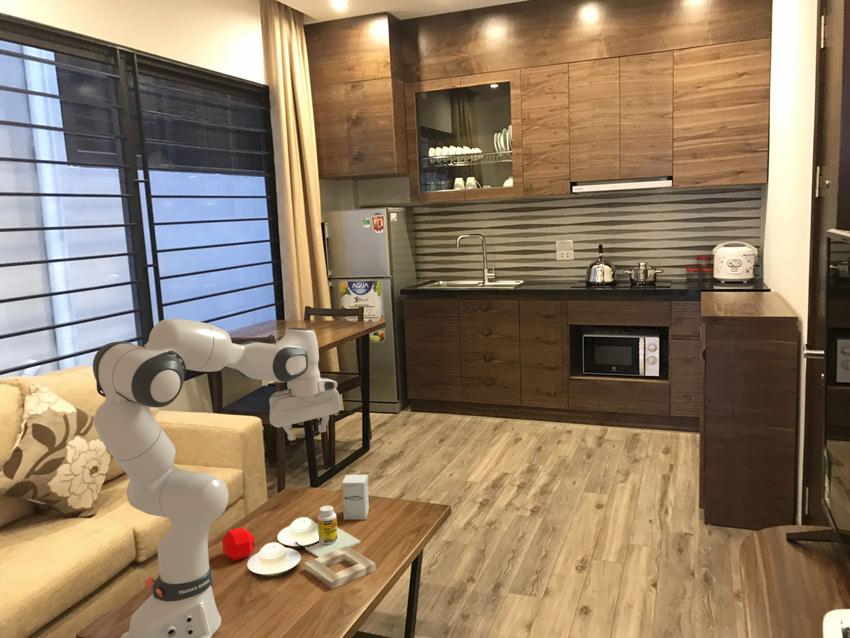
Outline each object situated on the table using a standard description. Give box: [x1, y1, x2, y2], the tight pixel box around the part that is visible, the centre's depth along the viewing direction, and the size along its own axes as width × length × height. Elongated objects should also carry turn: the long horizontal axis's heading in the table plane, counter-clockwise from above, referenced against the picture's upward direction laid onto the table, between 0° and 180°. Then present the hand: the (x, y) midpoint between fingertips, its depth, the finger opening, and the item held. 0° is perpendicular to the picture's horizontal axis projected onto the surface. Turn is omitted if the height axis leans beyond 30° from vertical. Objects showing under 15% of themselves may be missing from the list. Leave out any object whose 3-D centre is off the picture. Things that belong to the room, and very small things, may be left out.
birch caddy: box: [304, 546, 377, 590], centre depth 187 cm, size 14×14×2 cm
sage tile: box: [304, 526, 362, 558], centre depth 204 cm, size 14×14×1 cm
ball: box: [222, 526, 256, 562], centre depth 197 cm, size 8×8×8 cm
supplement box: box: [341, 474, 370, 521], centre depth 221 cm, size 7×7×13 cm
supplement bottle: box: [317, 505, 338, 544], centre depth 203 cm, size 6×6×10 cm
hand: (307, 435), depth 186 cm, fingers open, 8 cm apart
